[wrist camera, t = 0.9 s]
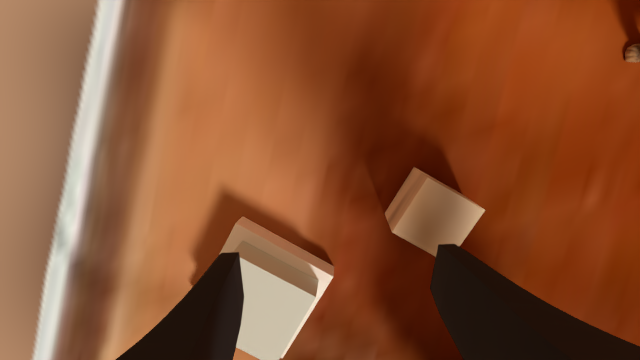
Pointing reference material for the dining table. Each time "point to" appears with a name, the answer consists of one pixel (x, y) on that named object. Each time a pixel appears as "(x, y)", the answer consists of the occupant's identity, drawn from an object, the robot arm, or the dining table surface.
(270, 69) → the dining table surface
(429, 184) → the birch block
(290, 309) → the top slab
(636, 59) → the lion figurine
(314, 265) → the bottom slab
